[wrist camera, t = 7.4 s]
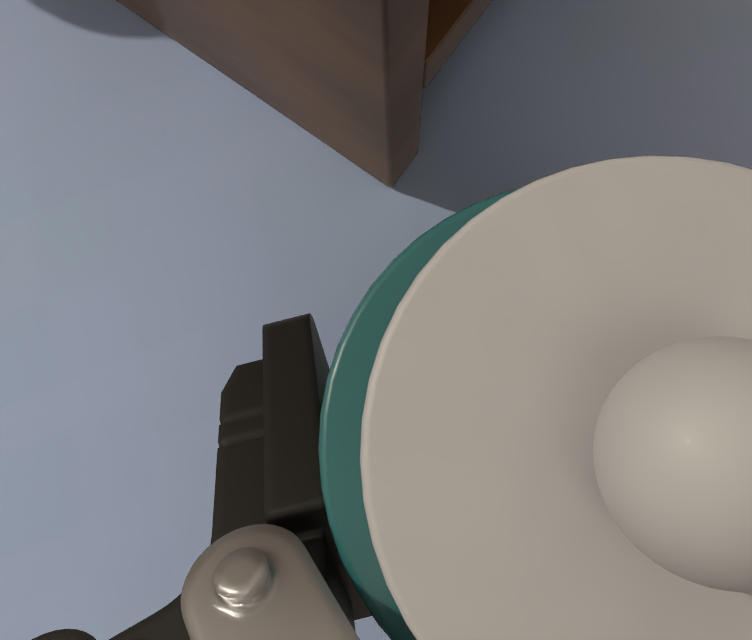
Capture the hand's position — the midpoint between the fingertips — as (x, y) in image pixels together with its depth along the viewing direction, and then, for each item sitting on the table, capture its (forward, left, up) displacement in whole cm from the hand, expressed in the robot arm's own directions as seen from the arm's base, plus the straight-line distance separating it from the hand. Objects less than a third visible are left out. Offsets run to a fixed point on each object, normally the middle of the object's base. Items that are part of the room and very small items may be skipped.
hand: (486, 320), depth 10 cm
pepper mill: (+1, -1, -5) cm, 6 cm away
